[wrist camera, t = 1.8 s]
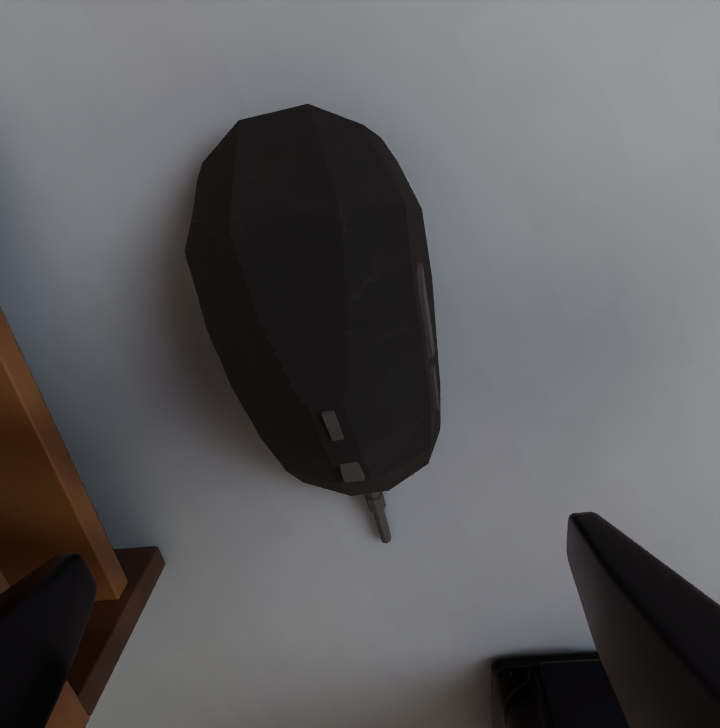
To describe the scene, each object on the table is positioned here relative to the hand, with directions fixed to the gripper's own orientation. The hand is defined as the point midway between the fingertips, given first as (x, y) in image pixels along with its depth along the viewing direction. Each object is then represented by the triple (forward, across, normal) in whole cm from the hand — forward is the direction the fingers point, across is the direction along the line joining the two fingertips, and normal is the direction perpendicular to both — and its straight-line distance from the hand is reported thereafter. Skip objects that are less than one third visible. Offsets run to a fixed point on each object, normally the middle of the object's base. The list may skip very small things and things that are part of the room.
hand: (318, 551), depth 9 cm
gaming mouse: (+8, 0, 0) cm, 8 cm away
